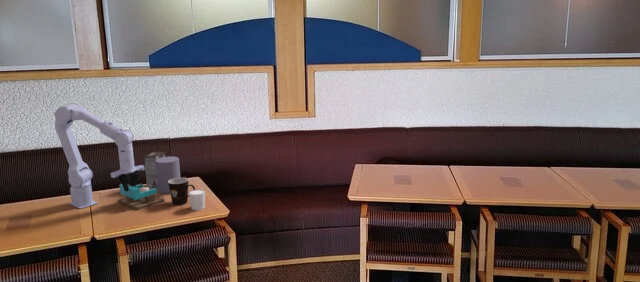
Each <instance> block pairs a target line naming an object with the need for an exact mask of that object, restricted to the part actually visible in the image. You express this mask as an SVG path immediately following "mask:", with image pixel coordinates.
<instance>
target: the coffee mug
mask: <svg viewBox="0 0 640 282" xmlns="http://www.w3.org/2000/svg"><path fill="white" fill-rule="evenodd" d="M168 185H169V189H170V197H171V203H172V205H174V206H182V205H186V204H187V203H188V202H189V200H188V199H189V187H192V188H193V190H196V188H195V186H194V185H193V184H191V183H190V184H189V178H187V177H180V178H174V179H171V180H169V181H168Z"/></svg>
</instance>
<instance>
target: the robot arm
mask: <svg viewBox="0 0 640 282" xmlns="http://www.w3.org/2000/svg"><path fill="white" fill-rule="evenodd" d="M53 114H54V117H55V120H54V129H55V132H56V134H57V136H58V139H59V142H60V144H61V147H62V150H63V152H64V156H65V157H66V160H67V163H68V165H69V167H68V170H67V176H68V180H67V181H68V182H69V185H71V186H70V189H69V193H70V199H71V202H70V203H69V205H70V206H74V207H76V208H77V209H80V210H81V209H84V208H86V207H90V206H94V205H98V201H95V200H94V198H93V189H92V182H91V180H92V179H93V177H94V174H93V170H92V169H90V167H89V165H88V164H87V163H86V162H84V161H83V159H82V155H81V153H80V150H79V148H78V144H77V143H76V140H75V137H74V134H73V131H72V129H71V126H72V125H73V123H74V122H75V121H80V120H81V121H83V122H86V123H88V124H89V125H92V126H94V127H95V128H97V129H99V133H101V134H102V135H104V136H106V137H107V138H109V139H111V140H113V141H114V144H115V145H116V146H117V149H118V150H117V151H118V158H119V169H118V170H115V171H113V172H110V177H111V178H113V179H115V178H117V179H118V180H119V182H120V184H122V185H123V188H124V191H128V185H129V183H128V182H129V181H130V185H131V186H134V187H136V185H137V182H138V179H139V177H140V175H141V173H140V172H139V171H145V165H143V164H141V165H140V164H139V165H135V159H134V150H133V141H134V137H135V136H134V134H133V132H132V131H131V130H130V129H124V128H122V127H119V126H117V125H116V124H114V122H113V121H110V120H109V121H103V120H102V119H101V118H99V117H98V116H96V115H95V114H93V113H91V112H90V111H88V110H87V109H86V108H85V107H84V106H82V105H80V104H78V103H77V102H72V103H71V102H70V103H69V104H66V105H62V106H58V108H56V110H55V111H54V113H53ZM127 175H128V176H127Z"/></svg>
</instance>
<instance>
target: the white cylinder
mask: <svg viewBox="0 0 640 282" xmlns="http://www.w3.org/2000/svg"><path fill="white" fill-rule="evenodd" d="M188 195H189V197H188V199H189V203H190V209H191V210H192V211H202V210H203V209H205V207H206V190H204V189H195V190H194V189H193V190H190V191H188Z"/></svg>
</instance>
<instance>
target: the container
mask: <svg viewBox="0 0 640 282" xmlns="http://www.w3.org/2000/svg"><path fill="white" fill-rule="evenodd" d="M156 170H157V180H158V189H157V192H158V193H160V194H163V193H165V194H168V195H169V194H170V189H169V185H168V181H169V180H171V179H174V178H181V169H180V158H179V157H178V156H165V157H162V158H158V159H156ZM165 194H164V195H165ZM170 195H171V194H170Z"/></svg>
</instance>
